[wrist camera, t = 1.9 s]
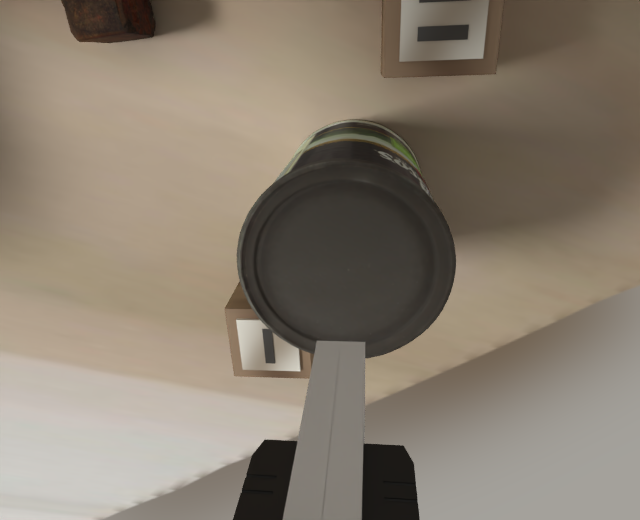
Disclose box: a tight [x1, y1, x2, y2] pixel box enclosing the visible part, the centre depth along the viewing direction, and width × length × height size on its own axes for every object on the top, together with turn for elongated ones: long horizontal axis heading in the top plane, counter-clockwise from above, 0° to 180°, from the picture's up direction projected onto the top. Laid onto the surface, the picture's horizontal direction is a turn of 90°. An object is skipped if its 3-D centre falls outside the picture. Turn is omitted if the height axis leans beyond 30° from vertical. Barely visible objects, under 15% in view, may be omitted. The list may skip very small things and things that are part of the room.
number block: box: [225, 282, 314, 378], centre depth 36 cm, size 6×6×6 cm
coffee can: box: [237, 120, 456, 358], centre depth 28 cm, size 10×10×14 cm
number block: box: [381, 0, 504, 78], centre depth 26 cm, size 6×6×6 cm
